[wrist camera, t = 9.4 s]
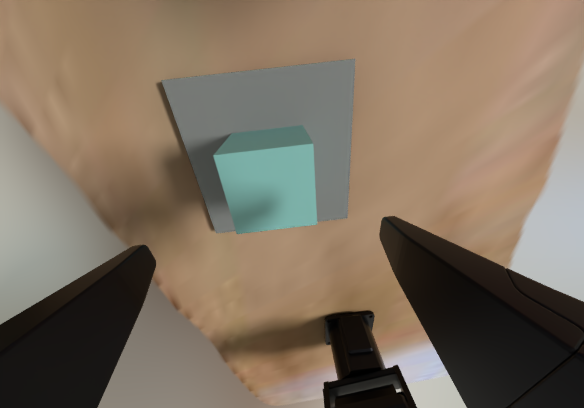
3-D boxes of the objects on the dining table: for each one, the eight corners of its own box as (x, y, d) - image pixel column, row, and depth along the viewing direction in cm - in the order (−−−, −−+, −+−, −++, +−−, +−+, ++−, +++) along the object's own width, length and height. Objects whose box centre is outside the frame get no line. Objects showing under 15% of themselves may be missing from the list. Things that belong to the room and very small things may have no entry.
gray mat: (345, 214, 20) (347, 218, 19) (217, 229, 19) (216, 233, 19) (352, 59, 13) (355, 58, 13) (165, 80, 13) (161, 80, 13)
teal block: (307, 188, 17) (317, 224, 13) (246, 195, 17) (236, 234, 13) (302, 125, 15) (313, 143, 10) (231, 133, 15) (213, 155, 10)
